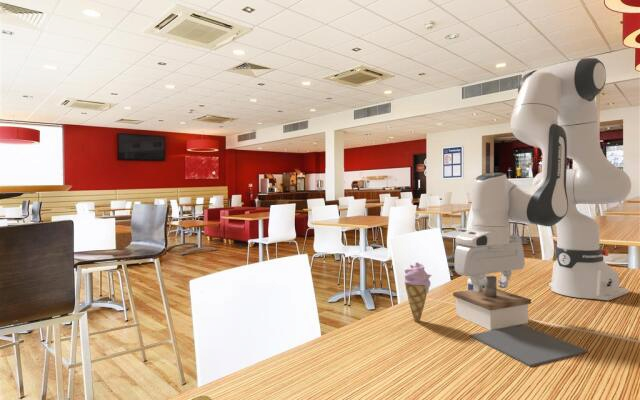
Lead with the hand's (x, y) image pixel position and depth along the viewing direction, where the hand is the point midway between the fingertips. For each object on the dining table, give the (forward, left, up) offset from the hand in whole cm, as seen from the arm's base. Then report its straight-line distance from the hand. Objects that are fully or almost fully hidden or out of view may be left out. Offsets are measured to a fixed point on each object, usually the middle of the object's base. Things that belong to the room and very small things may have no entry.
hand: (490, 289), depth 99 cm
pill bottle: (-5, -10, -8) cm, 14 cm away
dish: (0, 0, -8) cm, 8 cm away
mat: (+5, +15, -8) cm, 18 cm away
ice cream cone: (+18, -6, -8) cm, 21 cm away
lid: (0, 0, -3) cm, 3 cm away
